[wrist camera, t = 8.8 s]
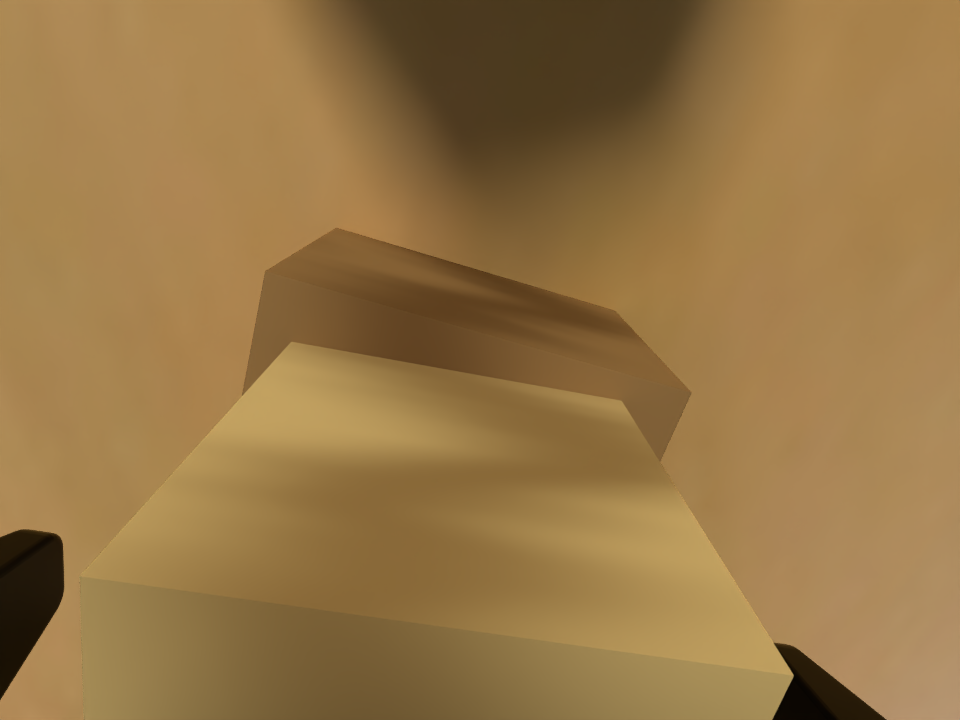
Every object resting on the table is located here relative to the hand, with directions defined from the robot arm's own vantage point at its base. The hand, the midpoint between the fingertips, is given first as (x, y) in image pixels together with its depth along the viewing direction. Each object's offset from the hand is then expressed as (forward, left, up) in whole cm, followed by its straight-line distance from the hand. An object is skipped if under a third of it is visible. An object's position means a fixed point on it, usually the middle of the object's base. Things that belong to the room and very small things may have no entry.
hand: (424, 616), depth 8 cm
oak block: (0, 0, -2) cm, 2 cm away
